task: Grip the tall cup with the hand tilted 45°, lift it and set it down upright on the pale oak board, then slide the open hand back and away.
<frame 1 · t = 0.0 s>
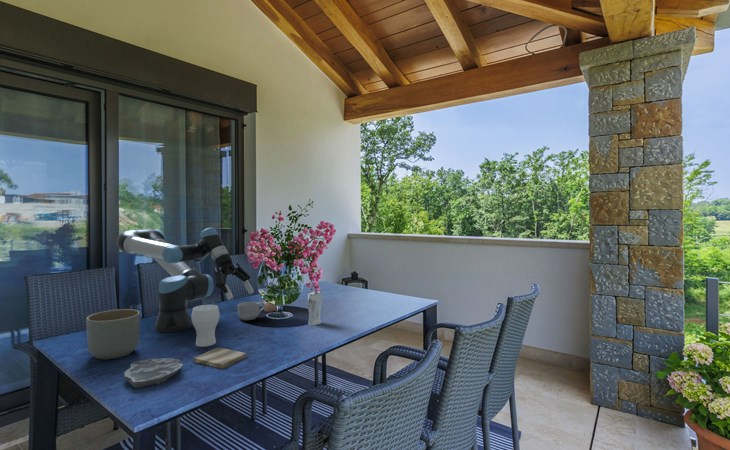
hand: (241, 295, 179), 15 cm above the table, tool tilted 35°, fingers open, 13 cm apart
cup: (205, 344, 159), on the table
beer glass: (314, 323, 188), on the table
planter: (114, 355, 145), on the table
oak board: (220, 359, 142), on the table
brain slice: (154, 377, 128), on the table
teacup: (251, 319, 195), on the table
tealight holder: (271, 309, 213), on the table
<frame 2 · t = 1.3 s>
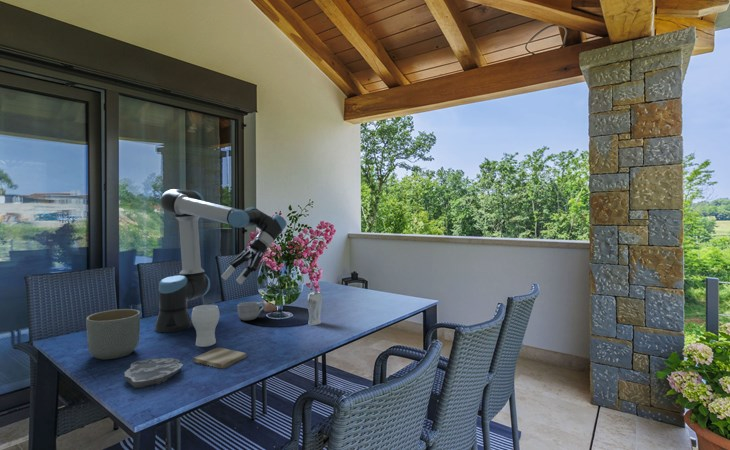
hand: (230, 280, 165), 25 cm above the table, tool tilted 45°, fingers open, 13 cm apart
nothing on the table moved.
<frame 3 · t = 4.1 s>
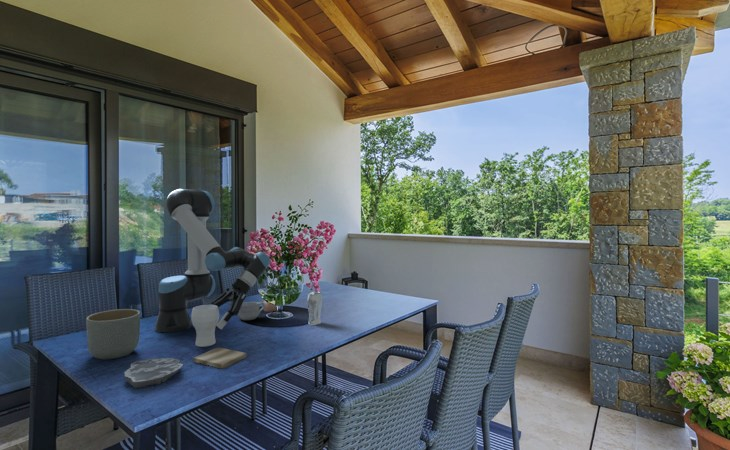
hand: (211, 324, 159), 8 cm above the table, tool tilted 45°, fingers open, 13 cm apart
cup: (205, 344, 158), on the table, touching gripper
everything else where it was.
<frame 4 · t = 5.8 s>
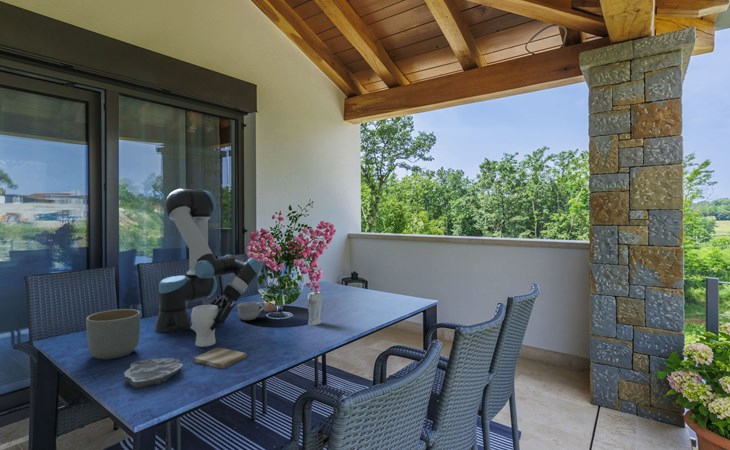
hand: (198, 332, 156), 5 cm above the table, tool tilted 45°, fingers closed on cup, 10 cm apart
cup: (205, 344, 158), on the table, touching gripper
everything else where it was.
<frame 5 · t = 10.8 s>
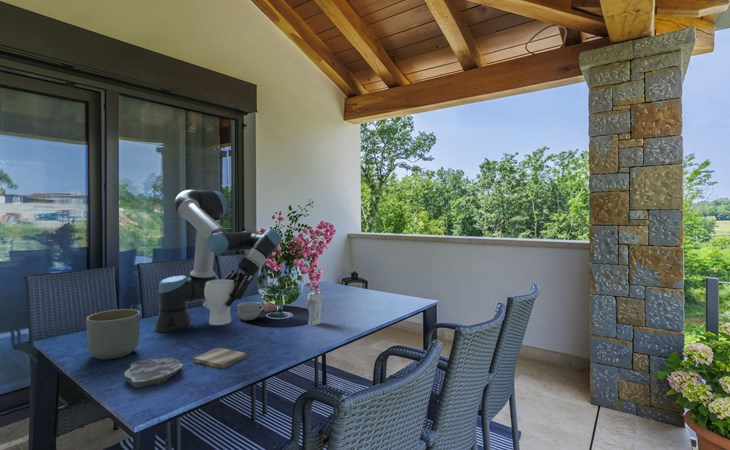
hand: (212, 309, 139), 19 cm above the table, tool tilted 45°, fingers closed on cup, 10 cm apart
cup: (220, 322, 141), point 14 cm above the table, touching gripper
everything else where it was.
when the fingers open (7 cm above the table, at t = 16.3 s): cup stays where it is, resting on oak board.
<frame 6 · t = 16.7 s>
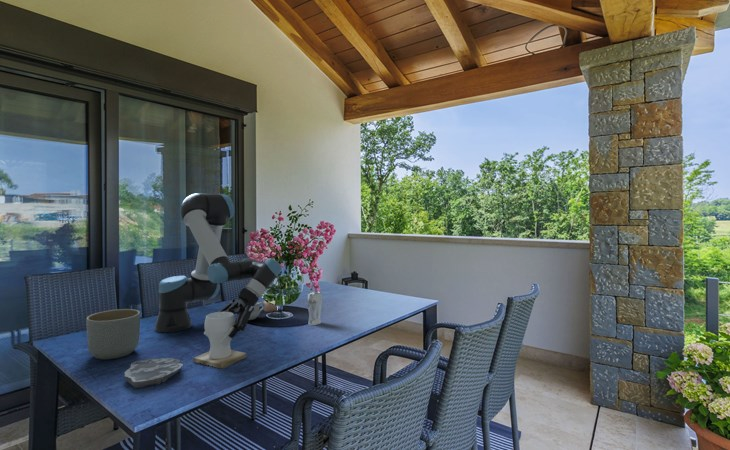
hand: (214, 340, 140), 8 cm above the table, tool tilted 45°, fingers open, 13 cm apart
cup: (220, 355, 142), point 1 cm above the table, touching oak board
everything else where it was.
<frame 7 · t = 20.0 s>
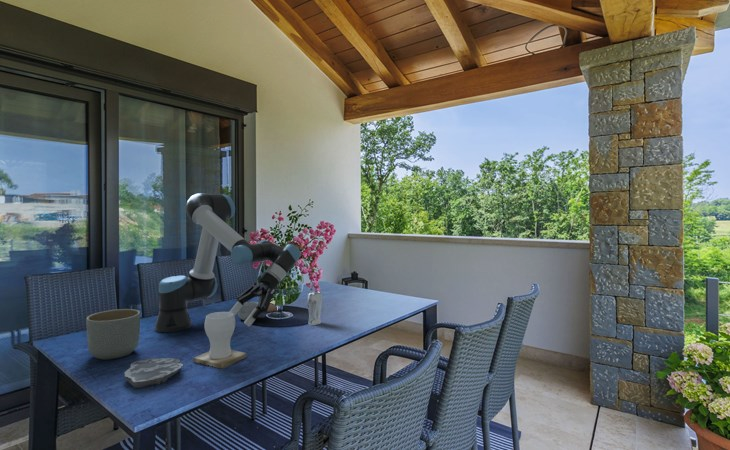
hand: (237, 320, 146), 13 cm above the table, tool tilted 45°, fingers open, 13 cm apart
nothing on the table moved.
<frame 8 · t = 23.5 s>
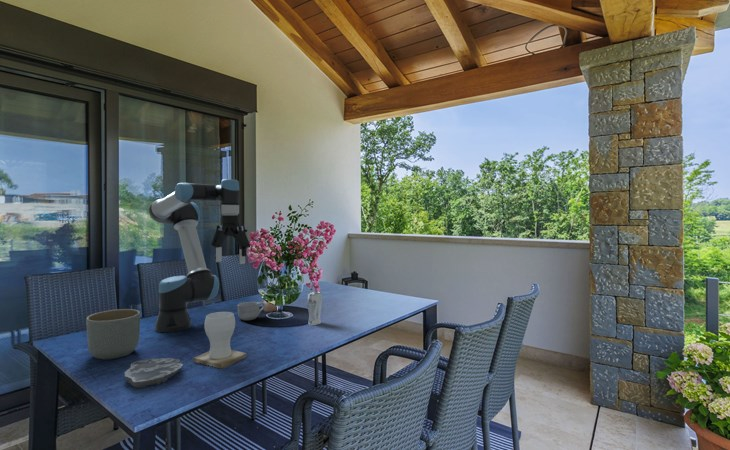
hand: (230, 262, 170), 32 cm above the table, tool pointing down, fingers open, 13 cm apart
nothing on the table moved.
at the end: cup inside the target area on the oak board (0.1 cm from its centre), point 1.3 cm above the oak board's base; cup tilted 0°; the gripper is holding nothing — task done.
